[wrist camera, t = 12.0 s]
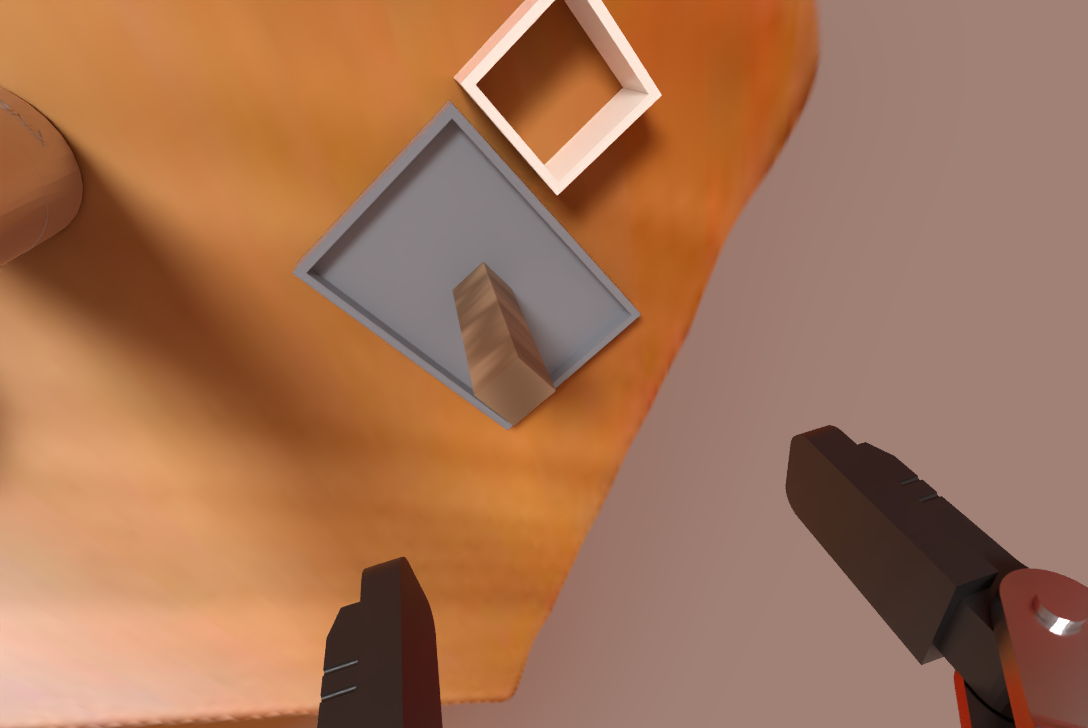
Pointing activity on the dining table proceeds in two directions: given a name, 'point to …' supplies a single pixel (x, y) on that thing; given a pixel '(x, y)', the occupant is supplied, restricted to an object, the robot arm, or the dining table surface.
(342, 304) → the tray
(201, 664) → the dining table surface
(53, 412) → the dining table surface
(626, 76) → the square frame
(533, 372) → the peg
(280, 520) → the dining table surface
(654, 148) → the dining table surface
